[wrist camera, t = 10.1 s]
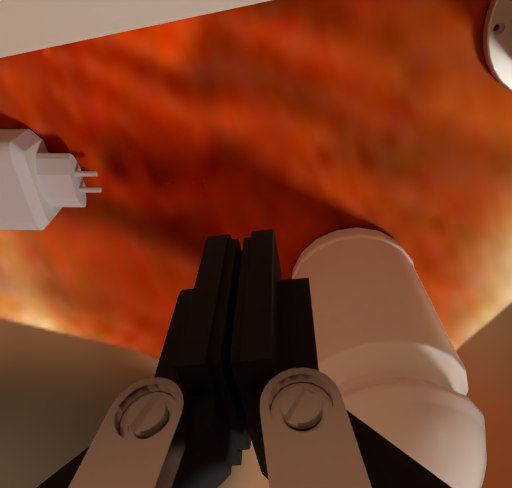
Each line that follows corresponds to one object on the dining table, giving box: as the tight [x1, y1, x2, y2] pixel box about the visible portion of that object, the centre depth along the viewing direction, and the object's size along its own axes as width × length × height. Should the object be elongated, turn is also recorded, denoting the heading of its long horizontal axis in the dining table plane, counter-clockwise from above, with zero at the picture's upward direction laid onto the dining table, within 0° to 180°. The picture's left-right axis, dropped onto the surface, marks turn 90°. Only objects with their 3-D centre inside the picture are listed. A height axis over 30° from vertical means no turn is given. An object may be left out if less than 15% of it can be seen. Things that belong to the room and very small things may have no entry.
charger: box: [0, 129, 102, 230], centre depth 39 cm, size 5×9×15 cm
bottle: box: [292, 227, 486, 488], centre depth 35 cm, size 14×14×28 cm
